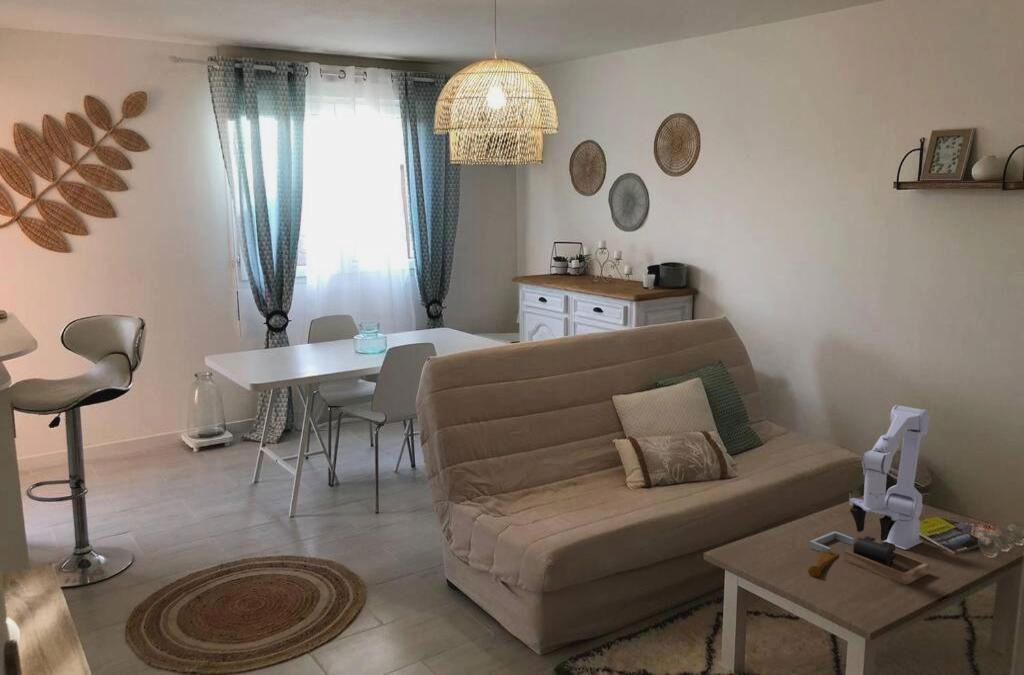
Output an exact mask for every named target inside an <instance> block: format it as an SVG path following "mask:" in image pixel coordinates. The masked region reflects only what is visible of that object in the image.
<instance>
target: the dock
mask: <svg viewBox="0 0 1024 675" xmlns="http://www.w3.org/2000/svg"><path fill="white" fill-rule="evenodd" d="M833 540H838V541H840V542H843V543H845V544H848V545H851V546H854V544H855V538H854V537H851V536H849V535H846V534H843V533H841V532H838V531H836V530H834V531H831V532H829V533H826V534H824V535H821V536H819V537H817V538H814V539H811V540H809V542H808V548H810V549H812V550H815V551H817V552H819V553H820V552H821V551H823V552H825V553H829V554H830V553H831V552H832V548H831V547H829V546H826V545H824V544H825V543H829V542H831V541H833Z"/></svg>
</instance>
